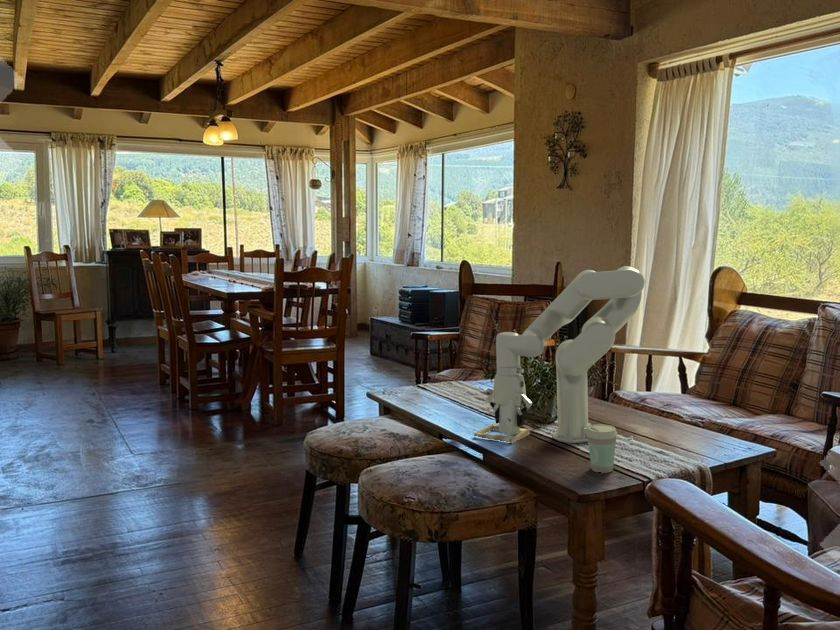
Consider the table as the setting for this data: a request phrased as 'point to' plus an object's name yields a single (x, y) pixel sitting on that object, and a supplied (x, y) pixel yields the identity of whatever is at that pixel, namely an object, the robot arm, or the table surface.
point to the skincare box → (508, 419)
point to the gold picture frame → (519, 436)
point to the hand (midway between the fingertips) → (509, 423)
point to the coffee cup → (601, 447)
